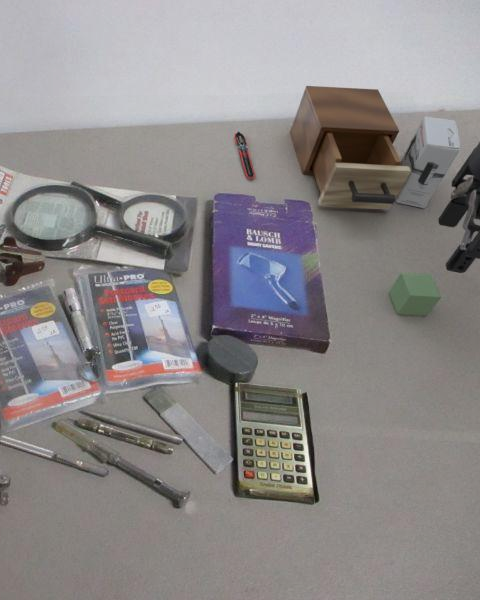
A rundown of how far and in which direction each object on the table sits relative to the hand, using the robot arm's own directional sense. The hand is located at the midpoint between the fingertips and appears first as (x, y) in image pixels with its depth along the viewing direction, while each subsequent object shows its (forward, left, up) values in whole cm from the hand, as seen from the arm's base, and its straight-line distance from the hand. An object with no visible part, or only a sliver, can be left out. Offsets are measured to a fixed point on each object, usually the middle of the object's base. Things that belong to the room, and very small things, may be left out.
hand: (449, 246), depth 76 cm
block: (0, 0, -12) cm, 12 cm away
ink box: (-8, -26, -12) cm, 30 cm away
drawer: (+3, -23, -11) cm, 26 cm away
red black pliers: (+19, -33, -12) cm, 40 cm away
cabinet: (+3, -35, -12) cm, 37 cm away
